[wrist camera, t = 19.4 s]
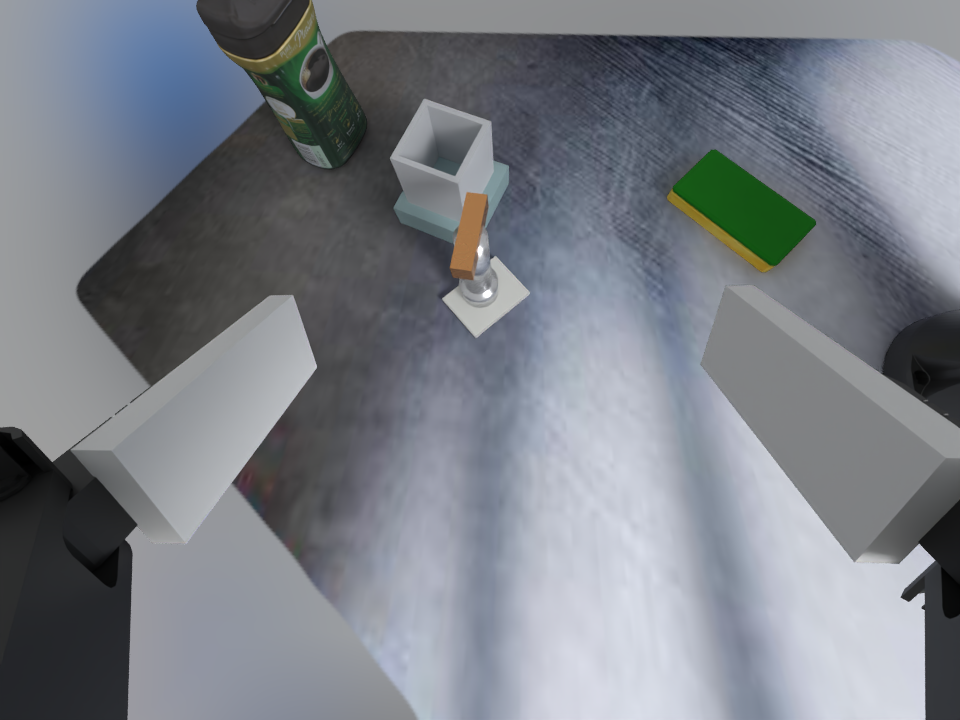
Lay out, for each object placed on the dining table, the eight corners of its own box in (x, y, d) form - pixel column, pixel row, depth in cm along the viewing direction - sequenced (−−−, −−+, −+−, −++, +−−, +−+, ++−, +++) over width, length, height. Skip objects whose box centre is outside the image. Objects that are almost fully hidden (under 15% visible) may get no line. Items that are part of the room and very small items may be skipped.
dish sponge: (703, 162, 46) (713, 146, 44) (802, 233, 43) (819, 221, 41) (663, 200, 45) (672, 187, 43) (761, 275, 43) (776, 266, 40)
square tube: (436, 157, 48) (418, 84, 39) (508, 183, 47) (508, 115, 37) (400, 222, 47) (372, 164, 37) (473, 252, 45) (464, 199, 35)
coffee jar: (328, 102, 51) (230, -83, 33) (377, 121, 50) (304, -60, 32) (290, 159, 50) (166, -2, 32) (340, 180, 49) (241, 26, 31)
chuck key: (468, 259, 44) (452, 190, 32) (503, 264, 44) (501, 196, 32) (456, 316, 43) (435, 265, 31) (492, 322, 43) (486, 273, 30)
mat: (495, 258, 45) (495, 255, 44) (529, 294, 44) (529, 292, 43) (443, 300, 44) (442, 298, 44) (475, 338, 43) (475, 337, 42)
